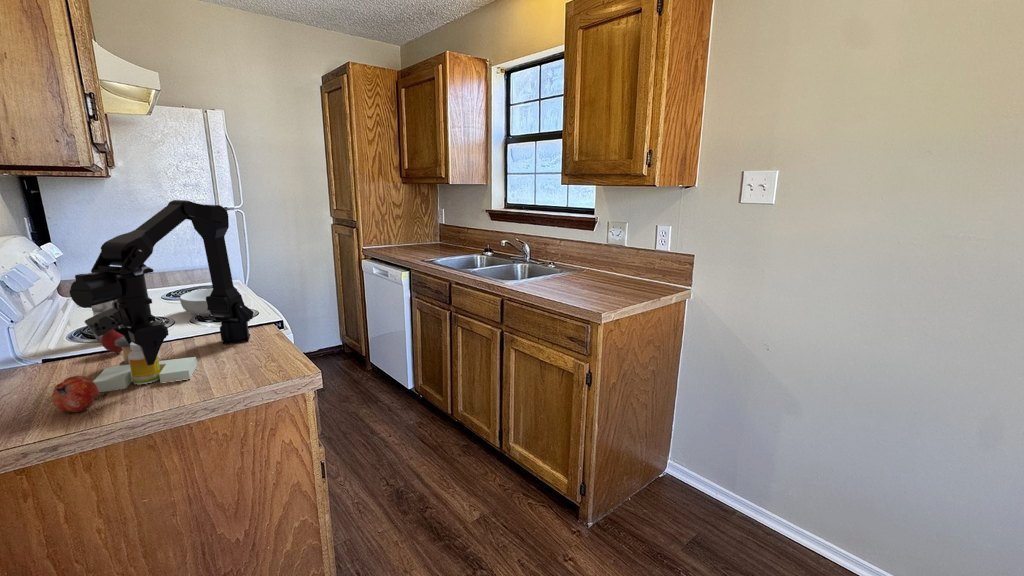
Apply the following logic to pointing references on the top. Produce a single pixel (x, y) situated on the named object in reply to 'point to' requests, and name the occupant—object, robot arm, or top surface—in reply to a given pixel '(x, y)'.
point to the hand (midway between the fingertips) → (143, 359)
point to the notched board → (169, 372)
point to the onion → (111, 341)
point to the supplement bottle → (142, 367)
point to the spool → (125, 349)
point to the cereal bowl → (196, 302)
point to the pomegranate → (75, 394)
